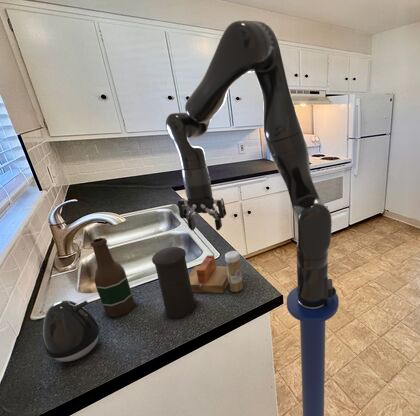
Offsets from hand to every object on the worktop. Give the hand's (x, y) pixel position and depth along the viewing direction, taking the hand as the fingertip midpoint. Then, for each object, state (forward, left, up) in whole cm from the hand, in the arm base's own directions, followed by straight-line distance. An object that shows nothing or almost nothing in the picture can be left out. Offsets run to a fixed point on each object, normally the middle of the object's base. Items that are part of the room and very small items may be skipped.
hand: (206, 229), depth 88 cm
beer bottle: (+24, +15, -21) cm, 35 cm away
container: (+5, +14, -21) cm, 25 cm away
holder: (+2, +1, -17) cm, 17 cm away
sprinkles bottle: (-9, +4, -21) cm, 23 cm away
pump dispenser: (+24, +30, -21) cm, 43 cm away
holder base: (+2, +1, -20) cm, 20 cm away
